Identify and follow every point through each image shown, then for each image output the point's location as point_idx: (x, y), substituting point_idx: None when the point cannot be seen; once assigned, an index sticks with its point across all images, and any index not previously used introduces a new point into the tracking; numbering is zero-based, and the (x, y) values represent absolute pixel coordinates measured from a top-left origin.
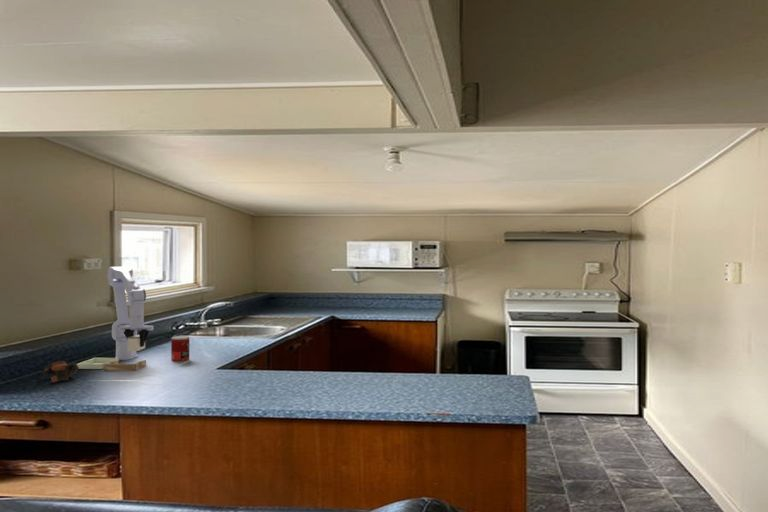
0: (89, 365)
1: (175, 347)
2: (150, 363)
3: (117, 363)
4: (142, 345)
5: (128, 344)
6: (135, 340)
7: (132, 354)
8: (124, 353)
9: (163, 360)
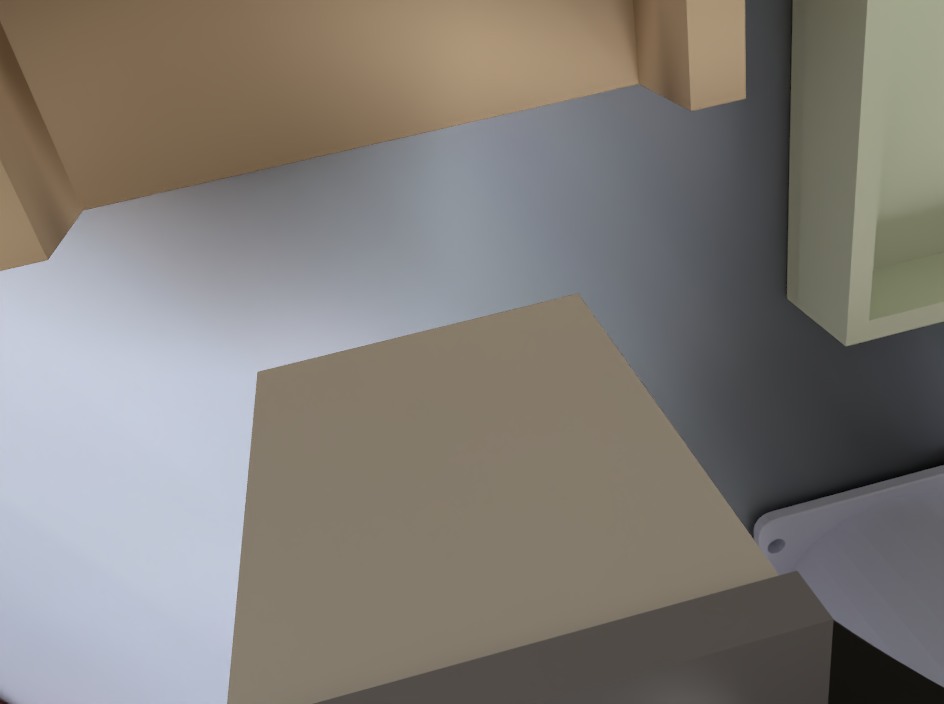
0: None
1: None
2: (227, 475)
3: (657, 26)
4: None
5: (618, 411)
6: (332, 617)
7: None
8: (891, 590)
9: (201, 689)
